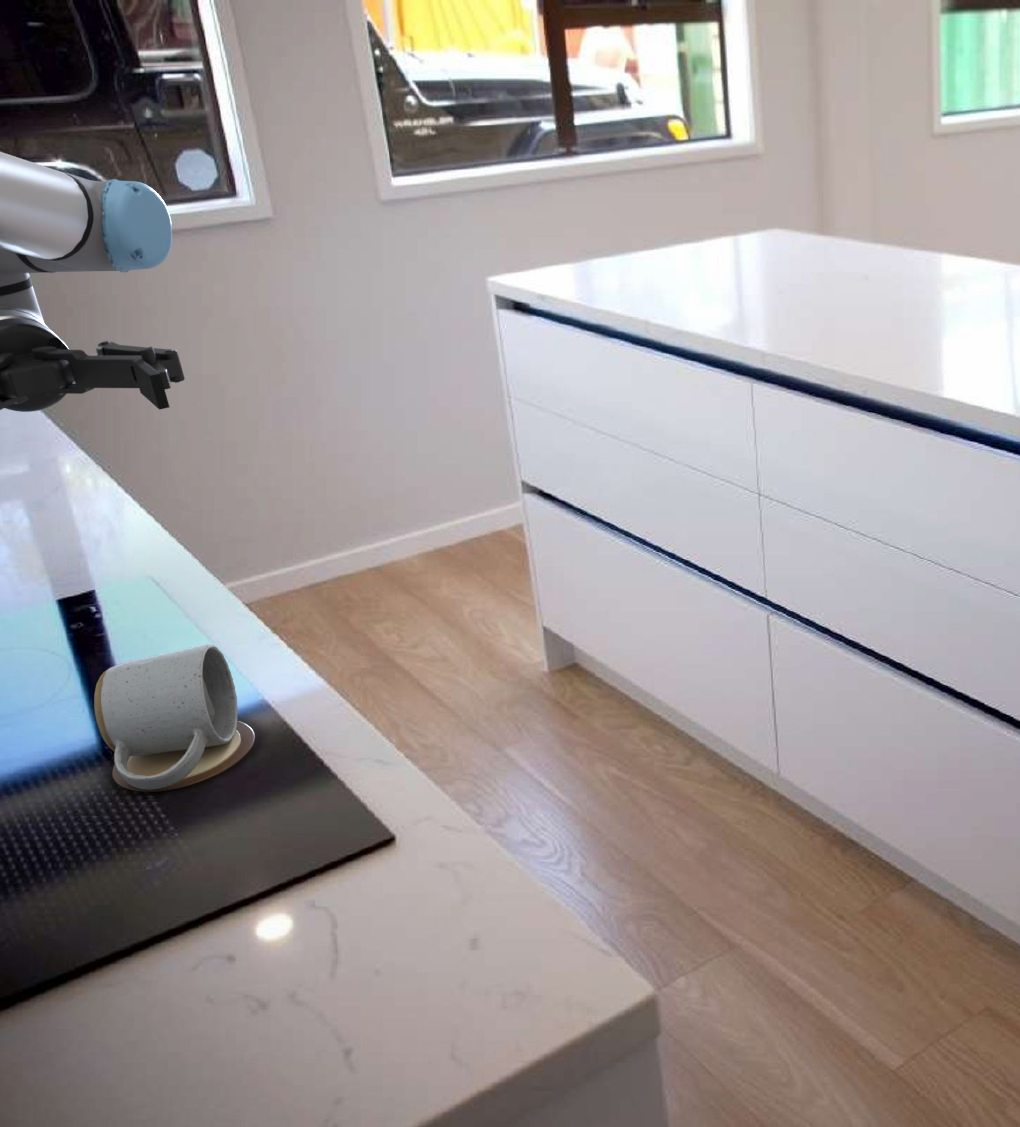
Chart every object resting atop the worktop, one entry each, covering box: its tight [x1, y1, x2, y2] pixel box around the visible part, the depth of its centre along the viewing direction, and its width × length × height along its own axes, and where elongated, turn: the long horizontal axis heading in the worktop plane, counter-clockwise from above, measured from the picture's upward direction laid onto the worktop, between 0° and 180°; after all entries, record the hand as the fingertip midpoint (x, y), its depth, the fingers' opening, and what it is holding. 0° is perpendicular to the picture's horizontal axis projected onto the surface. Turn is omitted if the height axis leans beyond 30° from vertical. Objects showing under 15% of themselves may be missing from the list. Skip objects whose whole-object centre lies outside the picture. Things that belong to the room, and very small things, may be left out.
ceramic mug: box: [93, 643, 238, 790], centre depth 96 cm, size 11×8×8 cm
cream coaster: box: [111, 720, 256, 793], centre depth 98 cm, size 10×10×1 cm
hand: (61, 412), depth 95 cm, fingers open, 13 cm apart
